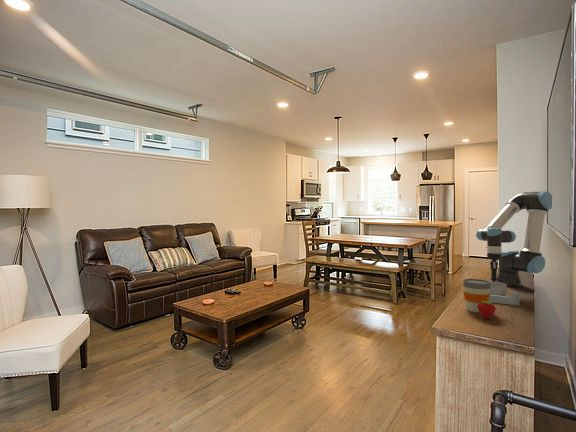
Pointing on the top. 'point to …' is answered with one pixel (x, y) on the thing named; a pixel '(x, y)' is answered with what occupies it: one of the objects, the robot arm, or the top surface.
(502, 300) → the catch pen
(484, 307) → the strawberry
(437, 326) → the top surface
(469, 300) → the reusable coffee cup
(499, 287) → the teacup
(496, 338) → the top surface
